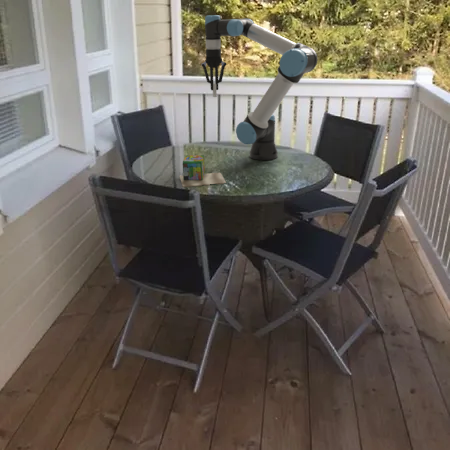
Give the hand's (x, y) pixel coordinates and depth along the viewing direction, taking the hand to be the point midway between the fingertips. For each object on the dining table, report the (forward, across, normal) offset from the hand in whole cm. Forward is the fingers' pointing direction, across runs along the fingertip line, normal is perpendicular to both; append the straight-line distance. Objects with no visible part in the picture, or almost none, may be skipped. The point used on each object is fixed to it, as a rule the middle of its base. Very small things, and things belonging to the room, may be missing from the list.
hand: (214, 96), depth 264 cm
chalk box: (+27, +15, +28) cm, 42 cm away
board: (+32, +13, +38) cm, 52 cm away
